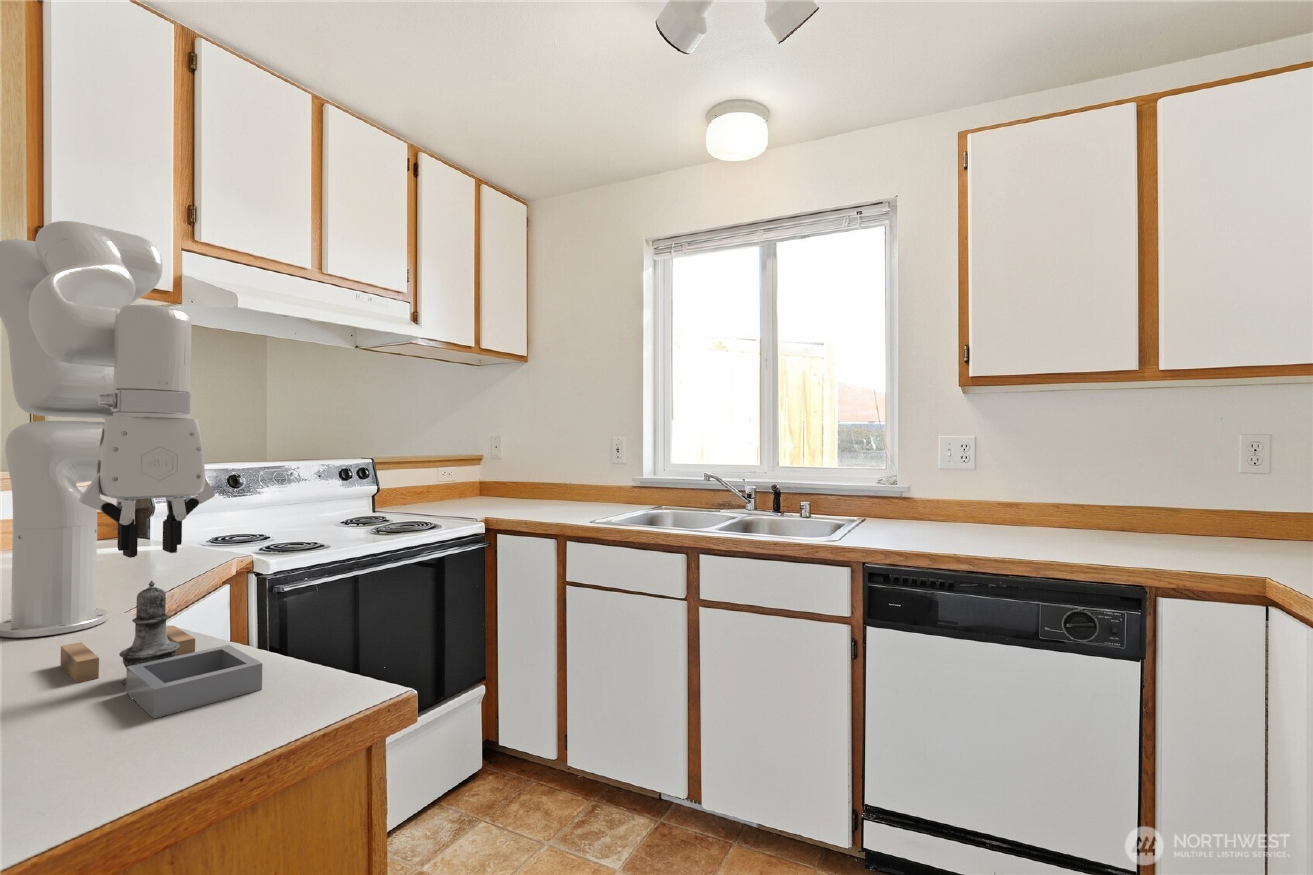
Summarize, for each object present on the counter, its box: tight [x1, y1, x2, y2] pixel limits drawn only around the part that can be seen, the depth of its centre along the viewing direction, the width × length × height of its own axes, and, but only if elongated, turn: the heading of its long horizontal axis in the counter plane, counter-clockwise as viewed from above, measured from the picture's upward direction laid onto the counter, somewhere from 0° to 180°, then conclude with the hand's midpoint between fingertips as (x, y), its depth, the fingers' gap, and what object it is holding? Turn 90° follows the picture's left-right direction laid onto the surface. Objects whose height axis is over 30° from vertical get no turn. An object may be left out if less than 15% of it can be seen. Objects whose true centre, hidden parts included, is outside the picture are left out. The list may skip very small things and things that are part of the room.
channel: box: [60, 625, 196, 683], centre depth 85 cm, size 9×12×2 cm
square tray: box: [125, 644, 263, 719], centre depth 75 cm, size 10×10×3 cm
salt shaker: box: [118, 580, 180, 686], centre depth 79 cm, size 6×6×12 cm
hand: (150, 552), depth 80 cm, fingers open, 3 cm apart
